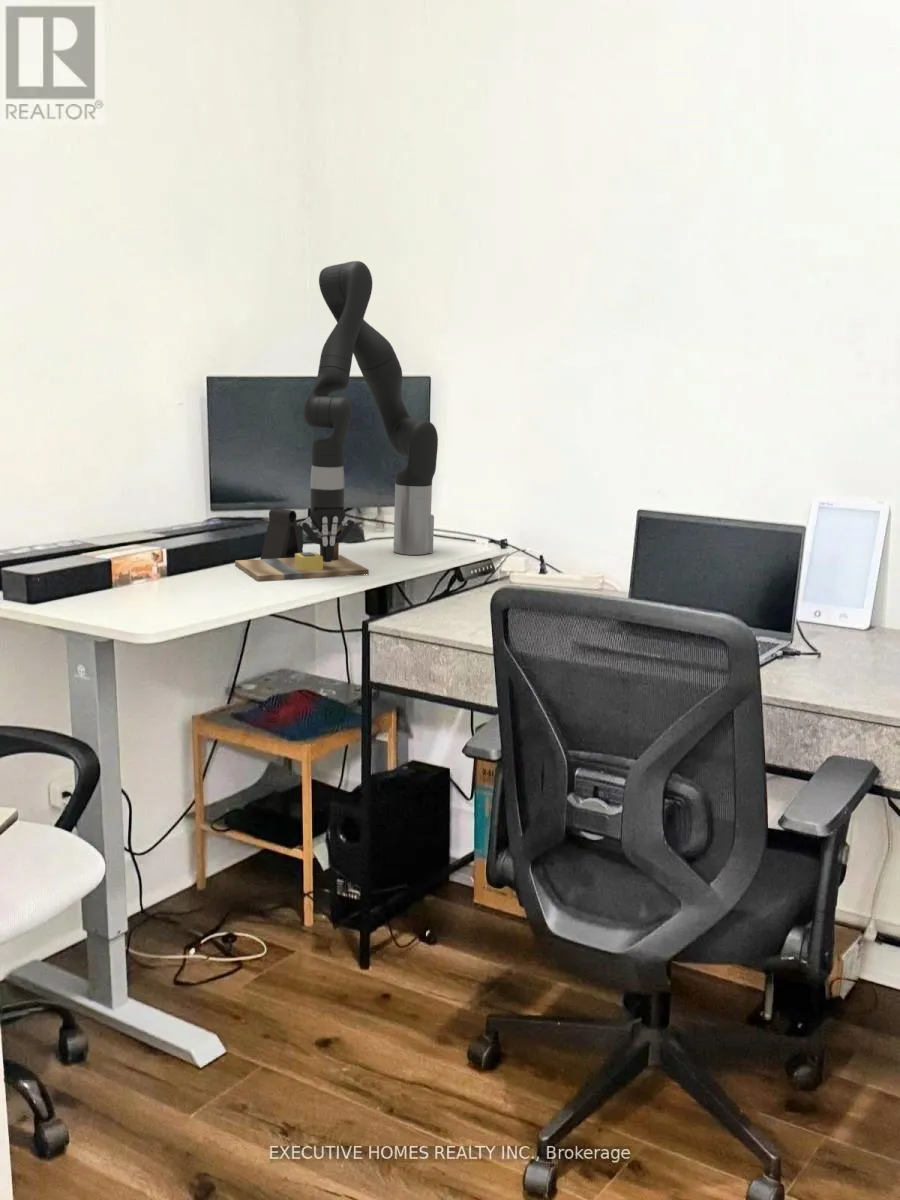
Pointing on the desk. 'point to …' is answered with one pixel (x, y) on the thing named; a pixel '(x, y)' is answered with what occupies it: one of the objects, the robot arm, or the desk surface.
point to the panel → (287, 569)
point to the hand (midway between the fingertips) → (326, 561)
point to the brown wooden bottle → (336, 549)
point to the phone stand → (281, 535)
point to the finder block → (308, 561)
